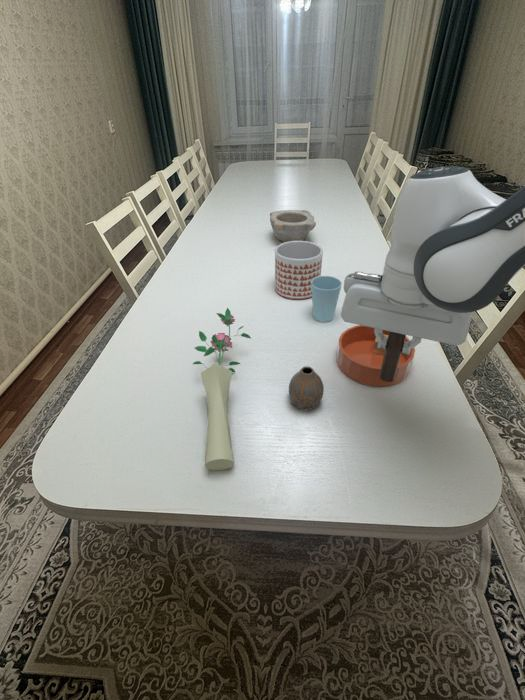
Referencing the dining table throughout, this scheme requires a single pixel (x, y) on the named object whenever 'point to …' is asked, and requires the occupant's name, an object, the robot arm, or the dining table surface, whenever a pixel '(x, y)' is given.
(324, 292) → the cup
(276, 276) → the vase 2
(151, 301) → the dining table surface
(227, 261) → the dining table surface
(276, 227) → the mortar
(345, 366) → the bowl
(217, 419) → the flower vase
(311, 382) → the vase
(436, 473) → the dining table surface
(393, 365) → the dark brown cylinder
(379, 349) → the block
